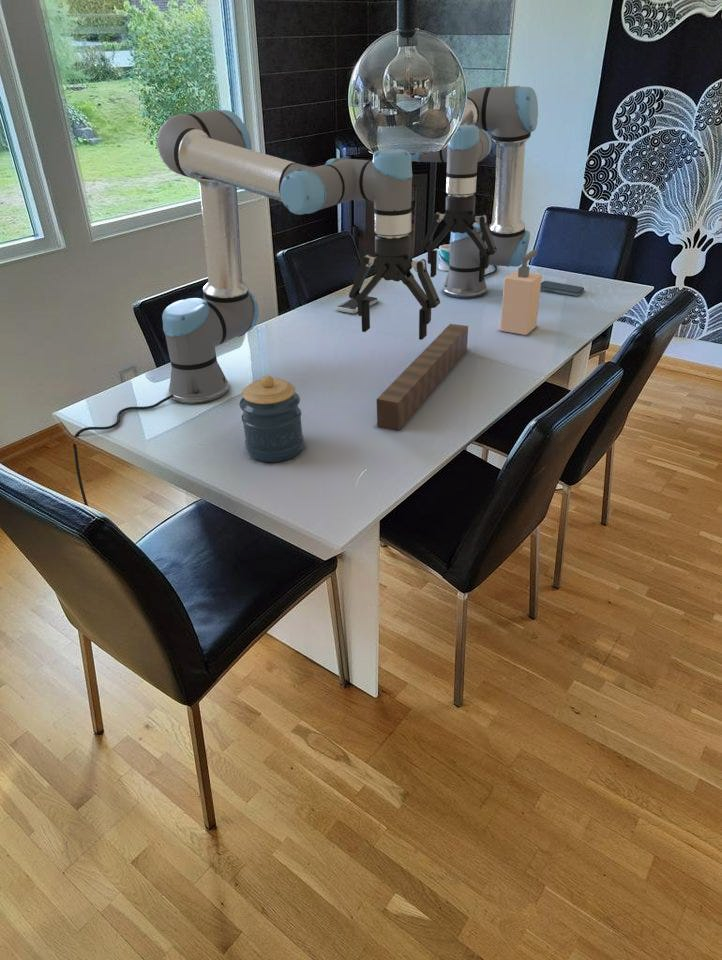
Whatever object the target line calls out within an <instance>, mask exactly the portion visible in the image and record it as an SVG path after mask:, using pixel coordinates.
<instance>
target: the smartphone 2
mask: <svg viewBox="0 0 722 960" xmlns="http://www.w3.org/2000/svg"><path fill="white" fill-rule="evenodd" d="M540 291H545V292H551V293H557V294H562V295H568V296H574V297H579V296H580V295H581V294H582V293H584V292H585V287H583V286H580V285H572V284H567V283H561V282H555V281H549V280H543V281H541V288H540Z"/></svg>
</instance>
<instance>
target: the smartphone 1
mask: <svg viewBox="0 0 722 960" xmlns="http://www.w3.org/2000/svg"><path fill="white" fill-rule="evenodd" d="M365 300H369V307H371V306H372V305H374V304H376V303H378V298H377V297H374V296H369V295H368V296H367V298H365ZM335 308H336V311H337V312H341V313H347V314H358V303H357V301H356V300H355V299H353V298H352V299H351V298H350V299H348V300H347V301H346V300H345V301H344V302H343V303H340V304H337V305H336V307H335Z"/></svg>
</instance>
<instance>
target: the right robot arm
mask: <svg viewBox="0 0 722 960" xmlns="http://www.w3.org/2000/svg"><path fill="white" fill-rule="evenodd" d="M466 93H467V101H466V107H465V111H464V115H463V118H462V122H461V124H460V126H459V127H458V129H457V131H456V133H455V134H454V136H453V138H452V139H451V140H450V142H449V143H448V144H447V146H446V147H445V148H444V149H442V150H440V151H438V152H433V153H427V154H415V155H411V162H417V163H446V178H445V179H446V182H445V193H446V194H447V195H446V196H445V206H444V207H445V208H444V209H445V211H444V212H445V213H441V212H440V211H436V213H434V214H432V215H433V216H432V222H431V224H430V226H429V229H428V231H427V233H426V235H425V237H424V239H423V241H422V242H421V245H420V249H421V250H425V251H426V252H427V264H428V265H430V274H429V276H430V278H434V277H435V276H436V275H437V270H438V269H437V267H438V266H437V264H438V263H437V262H438V250H437V249H436V248H437V246H439V244H440V243H441V242H442V240H444V239H445V237H446V236H447V235H448V234H449V232H450V239H449V244H450V260H449V271H447V275H446V278H445V280H444V283H443V287H442V288H443V290H442V292H443V294H444V295H446V296H448V297H450V298H455V299H476V298H481V297H483V296H485V295H486V293H487V284H486V280H485V278H486V277H488V276H490V275H493V274H496V273H497V271H498V267H507V268H509V267H514V268H515V267H516V268H517V267H521V266H522V259H523V256H525V255H526V254H527V253H528V249H529V244H530V238H531V232H530V230H526V223H525V222H524V221H523V220H522V207H523V205H522V203H523V187H524V172H525V171H524V170H525V152H526V142H528V140H530V138H531V135H532V132H535V130H536V129H537V126H538V117H539V104H538V97H537V93H536V91H535V90H534V88H532V87H530V86H521V85H509V86H482V87H478V88H474V89H472V90H468V91H467V92H466ZM488 132H491V135H490V133H488ZM492 141H493V143H495V145H496V147H495V148H496V149H495V153H496V154H495V181H494V182H495V186H494V218H493V221H492V222H491V223H489V225H488V216H487V214H482V215H476V198H477V197H476V195H475V193H476V192H477V175H478V174H477V173H478V163H480V162H482V161H484V160H485V159H486V157H487V156H488V155H489V154H490V152H491V149H492V146H493V143H492ZM442 221H443V222H444V224H445V225H446V226H445V227H444V228H443V229H442V230H441V232H440V233H439V234H438V236H436V238H435V239H434V240H433V242H432V243H431V241H432V239H433V236H434V235H435V233H436V231H437V229H438V227H439V224H440V223H441V222H442ZM435 249H436V250H435ZM489 266H493V268H494V270H493V271H491V272H488V273H486V270H487V269H488V268H489ZM497 266H498V267H497Z"/></svg>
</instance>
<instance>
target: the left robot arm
mask: <svg viewBox="0 0 722 960" xmlns="http://www.w3.org/2000/svg"><path fill="white" fill-rule="evenodd" d="M156 146H157V151H158V155H159V157H160V159H161V161H162V162H163V163H164V164H165V166H166V167H167V168H168V169H169V170H171V171H172V172H174V173H175V174H177V175H181V176H183V177H186V178H190V179H193V180H195V181H196V182H198V184H199V190H200V191H199V193H200V203H201V212H202V215H201V216H202V225H203V236H204V238H203V239H204V247H205V248H204V249H205V258H206V259H205V261H206V269H207V270H206V271H207V283H206V284H205V285H204V286H203V288H202V293H203V298H199V297H189V298H186V299H180V300H176V301H174V302H172V303H171V304H168V306H166V308H164V310H163V312H162V316H161V318H162V330H163V333H164V336H165V341H166V345H167V352H168V356H169V361H170V367H171V369H170V370H171V371H170V377H169V386H168V393H169V396H167V397H164V398H163V399H161V400H159V401H158V402H156V403H154V404H152V405H146V406H127V407H125V408H122V409H120V410H119V411H118V412H117V415H116V422H115V423H113V424H110V425H108V426H87V427H86V426H85V427H83V428H80V429H79V430H78V431H77V432H75V434H74V435H73V436H74V438H78V437H79V436H80V434H82V433H83V432H86V431H92V430H94V431H96V430H98V431H103V430H104V431H105V430H111V429H114V428H116V427H117V426H118V425H119V424H120V422H121V415H122V414H123V413H124V412H126V411H127V412H128V411H131V410H151V409H153V408H156V407H158V406H160V405H161V404H164V403H165V402H167V401H169V400H173V401H175V402H177V403H180V404H188V405H189V404H190V405H196V404H197V405H198V404H204V403H208V402H212V401H214V400H217V399H219V398H221V397H223V396H224V395H225V394H227V392H228V391H229V383H228V379H227V378H226V375H225V374H224V372H223V370H222V368H221V366H220V363H219V362H218V358H217V352H216V347H218V346H220V345H222V344H225V343H227V342H229V341H231V340H234V339H235V338H239V337H242V336H244V335H245V334H247V333H248V332H251V330H253V329H254V328H255V327H256V325H257V324H258V323H257V322H258V320H259V316H260V315H259V311H260V310H259V305H258V302H257V300H255V295H254V294H253V293H252V292H251V291H250V290H249V286H248V285H247V284H246V283H244V281H243V276H242V275H243V274H242V273H243V272H242V256H241V240H240V239H241V238H240V221H239V205H238V204H239V203H238V189H241V190H244V191H247V192H249V193H250V192H251V193H253V194H257V195H260V196H263V197H266V198H269V199H272V200H275V201H278V202H282V204H283V206H284V207H285V208H286V209H287V210H288V211H289V212H290V213H292V214H294V215H297V216H300V215H305V214H306V215H310V214H314V213H317V212H318V211H320V210H324V209H327V208H330V207H334V206H337V205H341V204H343V203H347V202H350V201H364V202H373V208H374V209H373V211H374V212H373V213H374V233H375V234H376V235H374V253H375V255H374V256H372V255H371V254H369V253H368V254H366V255H364V256H363V257H361V259H360V268H359V270H358V273H357V275H356V278H355V279H354V282H353V285H352V287H351V289H350V292H349V294H348V297H349V299H350V300H351V299H355V300H356V301H357V303H358V312H357V316H359V317H361V332H362V333H366V332H367V331H368V330H370V329H371V314H370V313H371V312H370V311H371V310H370V306H369V300H365V298H367V296H369V295H370V293H372V291H373V290H374V289H375V287H376V286H377V285H378V284H379V282H381V280H382V279H383V280H384V281H394V282H400V281H401V282H402V284H403V285H405V286H406V287H407V289H408V291H410V293H411V294H412V295H413V297H414V298H415V299H416V301H417V302H418V303H419V305H420V306H421V308H420V309H419V312H418V313H419V315H418V340H422V341H423V340H424V339H425V338H426V337H427V336H428V334H427V333H428V325H429V324H430V323H431V321H432V309H435V308H437V307H438V306H439V305H440V304H441V299H440V297H439V295H438V292H437V290H436V288H435V286H434V284H433V281H432V279H431V278H432V277H430V274H429V272H428V267H427V259H425V258H422V259H420V260H413V258H412V244H413V243H412V239H413V238H412V235H411V232H412V230H413V229H412V227H413V226H412V224H413V223H412V222H413V221H412V220H413V219H412V217H413V214H412V212H413V211H412V189H413V178H414V177H413V175H414V174H413V167H412V161H411V154H410V153H409V152H408V151H407V150H404V148H385V149H379V150H376V151H374V153H373V154H372V160H367V159H354V158H347V157H340V158H330V159H328V160H327V161H326V162H325V163H324V164H323V165H318V166H308V165H306V164H305V165H304V164H301V163H297V162H294V161H292V160H287V159H284V158H281V157H277V156H273V155H270V154H267V153H263V152H259V151H256V150H252V138H251V134H250V132H249V129H248V127H247V125H246V124H245V122H243V120H242V119H241V117H240V116H239V115H238V114H236V112H233V111H231V110H229V109H228V110H227V109H210V110H209V109H208V110H204V111H203V110H202V111H198V112H197V111H196V112H190V113H181V114H180V113H179V114H175V115H174V116H171V117H169V118H168V119H166V121H164V122H163V124H162V125H161V127H160V128H159V130H158V133H157V139H156ZM372 266H374V267H375V268H376V270H377V272H376V273H375V274H374V275H373V277H372V278H371V279H370V281H369V282H368V283H367V284H366V286H365V287H364V289H362V287H363V284H364V282H365V280H366V278H367V276H368V273H369V271H370V269H371V267H372ZM412 269H414V271H415V272H416V273H417V276H418V279H419V281H420V283H421V286H422V287H421V286H420V284H419V283H418V282H417V280H416V278H415V276H414V274H413V272H411V270H412ZM361 289H362V291H361ZM77 447H78V446H77V444H76V443H74V442H73V443H72V448H73V455H74V462H75V464H74V465H75V469H76V470H75V471H76V476H77V481H78V485H79V489H80V493H81V497H82V501H83V503H84V506H85V505H87V506H88V507H89V504H88V500H87V497H86V493H85V489H84V486H83V481H82V476H81V469H80V464H79V454H78V453H79V452H78V448H77Z"/></svg>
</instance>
